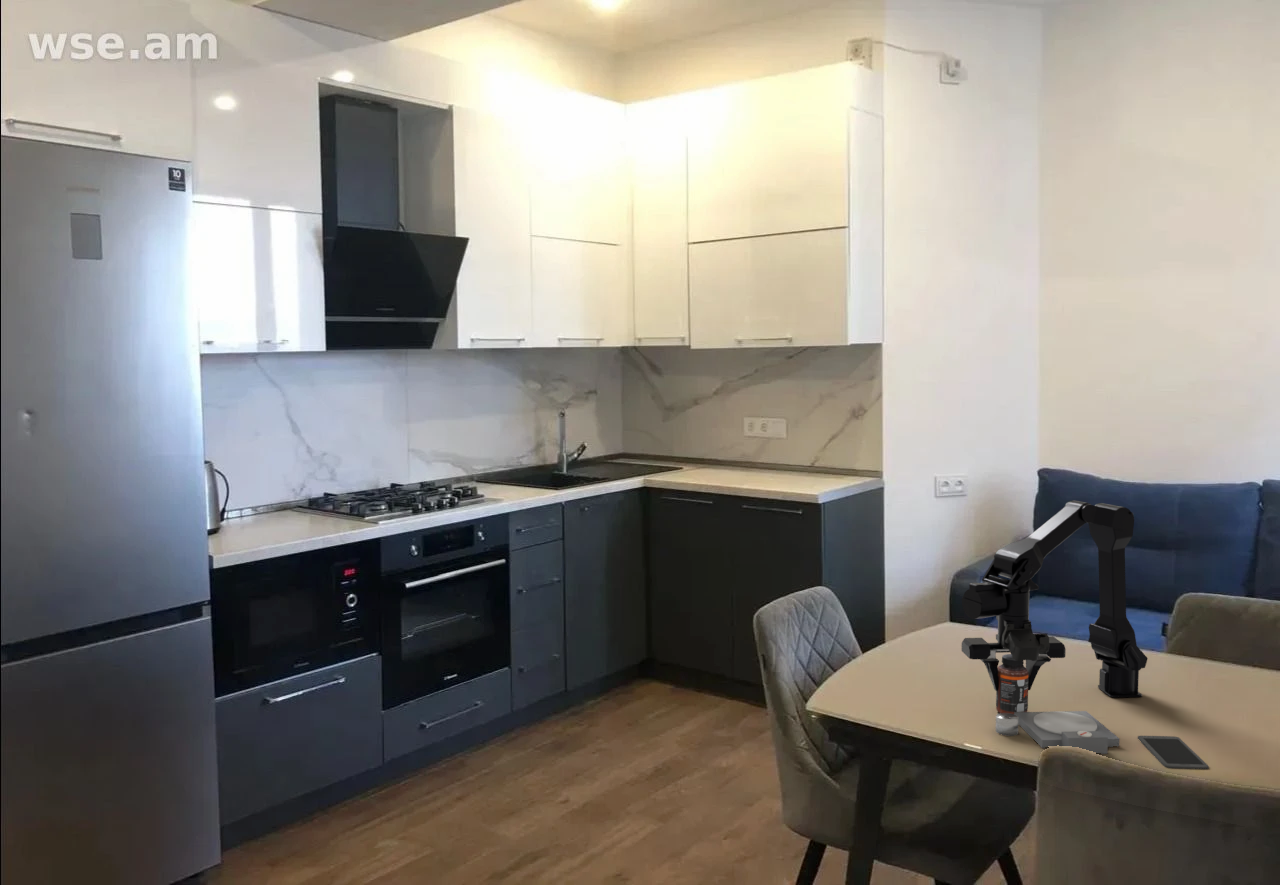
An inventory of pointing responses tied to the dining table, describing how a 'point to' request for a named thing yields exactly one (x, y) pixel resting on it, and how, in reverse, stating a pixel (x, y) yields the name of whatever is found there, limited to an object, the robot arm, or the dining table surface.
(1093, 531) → the robot arm
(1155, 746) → the cell phone
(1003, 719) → the shiny metal cylinder
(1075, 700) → the dining table surface
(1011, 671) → the supplement bottle
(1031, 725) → the scale
